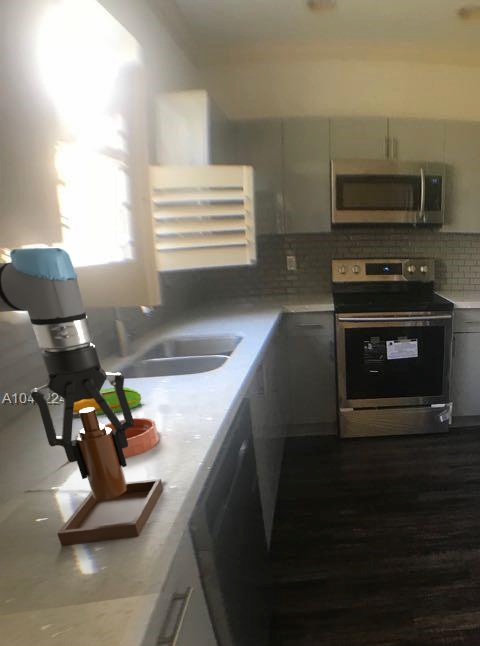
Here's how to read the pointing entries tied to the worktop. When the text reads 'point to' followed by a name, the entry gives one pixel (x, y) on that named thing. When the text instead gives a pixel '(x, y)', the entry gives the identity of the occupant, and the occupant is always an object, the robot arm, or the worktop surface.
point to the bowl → (139, 436)
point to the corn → (109, 401)
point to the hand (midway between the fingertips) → (104, 469)
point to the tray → (112, 515)
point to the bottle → (100, 457)
